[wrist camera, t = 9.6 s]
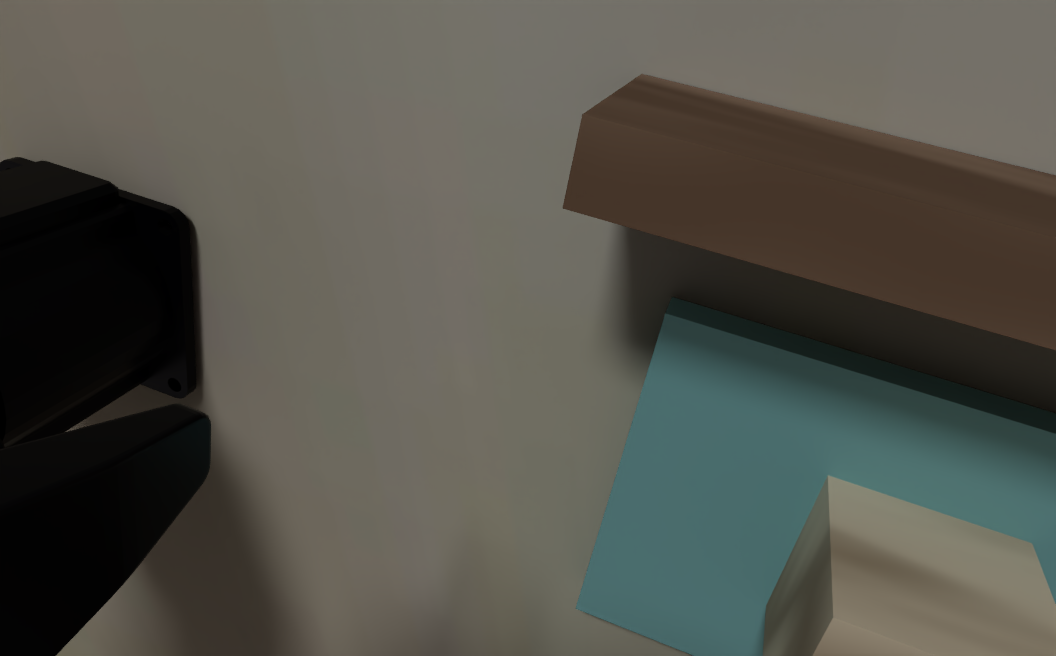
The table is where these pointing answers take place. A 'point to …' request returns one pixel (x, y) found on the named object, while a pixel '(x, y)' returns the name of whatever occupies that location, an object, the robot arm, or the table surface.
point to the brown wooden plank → (825, 203)
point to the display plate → (790, 471)
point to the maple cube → (905, 584)
